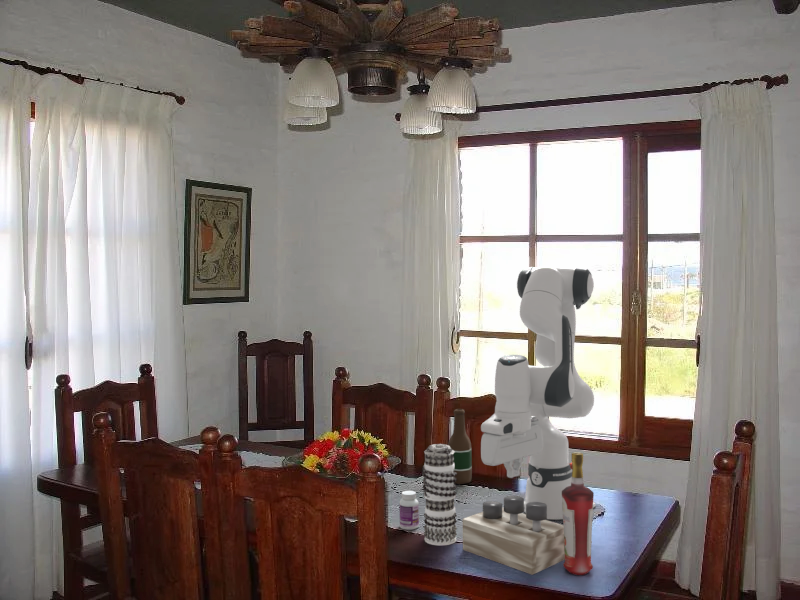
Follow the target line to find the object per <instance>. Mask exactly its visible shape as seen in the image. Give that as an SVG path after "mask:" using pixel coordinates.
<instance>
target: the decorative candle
mask: <svg viewBox="0 0 800 600" xmlns="http://www.w3.org/2000/svg"><path fill="white" fill-rule="evenodd" d="M423 452H424V465H423V466H422V467H421V469H422V472H421V474H422V477H423V479H422V482H423V485H422V489H423V490H424V492H423V497H424V499H425V507H424V512H425V513H424V514H423V516H424V520H423V521H424V524H425V525H424V526H423V529H424V532H423V534H424V542H425V543H427V544H429V545H432V546H439V547H441V546H450V545H453V544H454V543H456V542H457V541H458V540H457V536H458V533H457V529H458V527H457V525H456V523H457V522H458V521H457V519H456V518H457V516H458V515H457V513H456V506H455V498H456V497H457V492H456V489H457V486H456V484H454V482H456V481H457V479H456V478H455V477H454V476H456V475H457V473H456V472H455V471H453V470H454V461H453V460H454V456H453V454H454V453H455V451H454V450H452V449H451V447H450V446H449V445H448V444H446V443H445V444H444V443H434V444H431V445H429V446H427V448H426V449H425V450H424V451H423Z"/></svg>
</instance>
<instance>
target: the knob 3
mask: <svg viewBox="0 0 800 600" xmlns="http://www.w3.org/2000/svg"><path fill="white" fill-rule="evenodd" d="M525 514H526V518H527V519H529V520H532V526H533V531H534V532H540V531H541V521H542V520H548V519H547V505H546V504H545V503H542V502H529V503H527V504H526V513H525Z"/></svg>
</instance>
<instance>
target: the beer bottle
mask: <svg viewBox="0 0 800 600" xmlns="http://www.w3.org/2000/svg"><path fill="white" fill-rule="evenodd" d="M465 411H466V410H465V409H463V408H456V409H454V410H453V414H454V417H453V418H454V419H453V432H452V434H451V436H450V437H449V440H448V443H447V445H449V446H450V447H451V449H452V450H454V451H455V453H454V454H453V456H454V460H453V461H454V470H453V471H455V472H456V473H457V475H456V476H454V477H455V478H456V479H457V481H456V482H454V485H465V484H466V485H467V484H469V483H471V481H472V479H473V478H472V476H473V475H472V474H473V472H472V471H473V470H472V469H473V468H472V467H473V465H472V463H473V462H472V460H473V459H472V443H471V439H470V437H469V436H468V434H467V432H466V423H465V422H466V421H465V413H466V412H465Z"/></svg>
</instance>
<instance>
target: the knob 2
mask: <svg viewBox="0 0 800 600" xmlns="http://www.w3.org/2000/svg"><path fill="white" fill-rule="evenodd" d="M524 501H525V497H523V496H518V495H508V496H507V495H506V496H504V497H503V508H504V512H506V513H509V514H510V524H512V525H518V514H520V513H523V514H524V513H525V511H524V509H525V507H524Z"/></svg>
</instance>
